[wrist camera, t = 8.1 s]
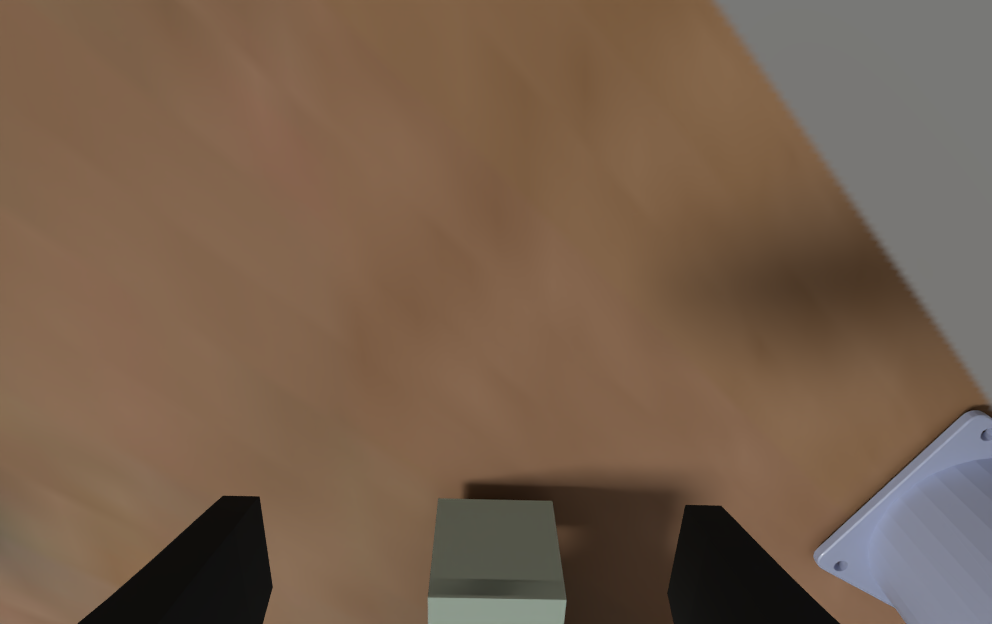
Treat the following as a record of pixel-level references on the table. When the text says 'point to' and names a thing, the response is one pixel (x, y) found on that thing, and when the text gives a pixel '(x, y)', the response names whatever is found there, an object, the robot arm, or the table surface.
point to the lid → (496, 563)
